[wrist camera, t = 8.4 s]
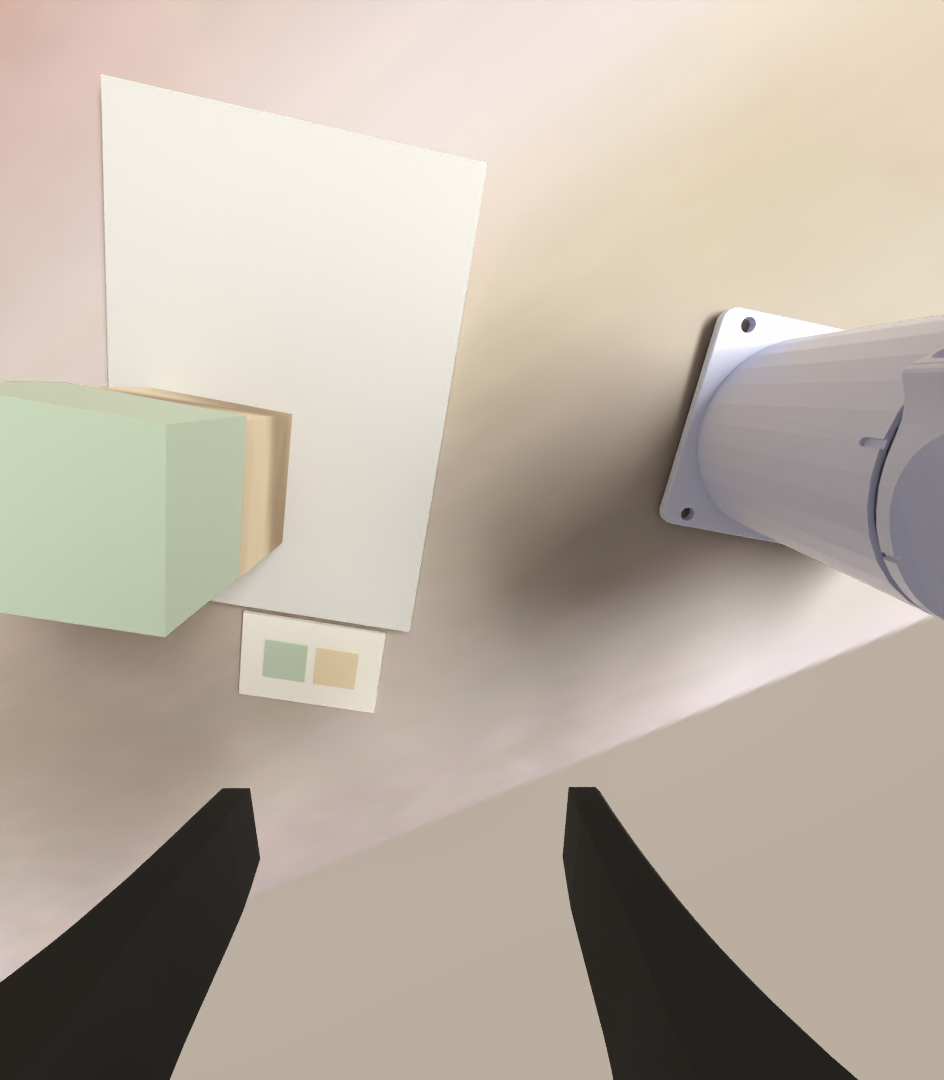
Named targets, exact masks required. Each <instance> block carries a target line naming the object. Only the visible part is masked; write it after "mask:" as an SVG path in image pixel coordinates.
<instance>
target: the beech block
mask: <svg viewBox="0 0 944 1080" xmlns="http://www.w3.org/2000/svg"><path fill="white" fill-rule="evenodd" d="M92 388H98V389H103V390H109V391H114V392H120V393H125V394H131V395H136V396H142V397H147V398H153V399H158V400H164V401H169V402H175V403H180V404H186V405H191V406H197V407H202V408H207V409H213V410H218V411H224V412H229V413H235V414H240V415H246V416H247V421H246V440H245V460H244V480H243V500H242V520H241V540H240V559H239V577H237V578H236V579H235V580H238V579H239V578H241V577H242V576H243V575H244V574H245V573H247V572H248V571H249V570H250V569H251V568H253V567H254V566H255V565H256V564H257V563H259V562H260V561H261V560H262V559H263V558H265V557H266V556H267V555H268V554H269V553H271V552H272V551H273V550H274V549H275V548H277V547H278V546H279V545H280V544H281V543H282V541H283V528H284V515H285V503H286V490H287V478H288V465H289V452H290V440H291V427H292V414H290V413H285V412H279V411H274V410H269V409H263V408H258V407H253V406H247V405H242V404H237V403H231V402H226V401H220V400H215V399H210V398H204V397H199V396H194V395H188V394H183V393H178V392H172V391H167V390H162V389H156V388H142V387H92Z"/></svg>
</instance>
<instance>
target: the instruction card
mask: <svg viewBox="0 0 944 1080" xmlns="http://www.w3.org/2000/svg"><path fill="white" fill-rule="evenodd" d="M385 638H386V632H380V631H374V630H367V629H361V628H355V627H348V626H342V625H336V624H329V623H323V622H317V621H310V620H304V619H298V618H291V617H285V616H279V615H272V614H266V613H260V612H253V611H247V610H245V611H244V612H243V628H242V645H241V662H240V680H239V694H245V695H252V696H259V697H266V698H272V699H279V700H286V701H293V702H300V703H307V704H314V705H321V706H327V707H334V708H341V709H348V710H355V711H362V712H369V713H374V710H375V704H376V697H377V691H378V684H379V677H380V671H381V664H382V657H383V651H384V644H385Z"/></svg>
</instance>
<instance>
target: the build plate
mask: <svg viewBox="0 0 944 1080" xmlns="http://www.w3.org/2000/svg"><path fill="white" fill-rule="evenodd" d="M101 101H102V142H103V182H104V223H105V263H106V304H107V345H108V385H109V387H142V388H156V389H162V390H167V391H172V392H178V393H183V394H188V395H194V396H199V397H204V398H210V399H215V400H220V401H226V402H231V403H237V404H242V405H247V406H253V407H258V408H263V409H269V410H274V411H279V412H285V413H290V414H292V427H291V440H290V452H289V465H288V478H287V490H286V503H285V515H284V528H283V541H282V543H281V544H280V545H279V546H278V547H277V548H275V549H274V550H273V551H272V552H271V553H269V554H268V555H267V556H266V557H265V558H263V559H262V560H261V561H260V562H259V563H257V564H256V565H255V566H254V567H253V568H251V569H250V570H249V571H248V572H247V573H245V574H244V575H243V576H242V577H241V578H239V579H238V580H234V581H233V582H231V583H230V584H229V585H228V586H226V587H225V588H224V589H223V590H222V591H220V592H219V593H218V594H217V595H216V596H214V597H213V598H212V599H211V600H209V601H215V602H221V603H227V604H233V605H240V606H246V607H252V608H259V609H265V610H271V611H278V612H284V613H290V614H297V615H303V616H309V617H316V618H322V619H328V620H335V621H341V622H347V623H354V624H360V625H366V626H373V627H379V628H385V629H392V630H398V631H404V632H410V628H411V622H412V616H413V610H414V604H415V598H416V592H417V586H418V580H419V574H420V568H421V562H422V556H423V550H424V544H425V538H426V532H427V526H428V520H429V514H430V508H431V502H432V496H433V490H434V484H435V478H436V472H437V466H438V460H439V454H440V448H441V442H442V436H443V430H444V424H445V418H446V412H447V406H448V400H449V394H450V388H451V382H452V376H453V370H454V364H455V358H456V352H457V346H458V340H459V333H460V327H461V321H462V315H463V309H464V303H465V297H466V291H467V285H468V279H469V273H470V267H471V261H472V255H473V249H474V243H475V237H476V231H477V225H478V219H479V213H480V207H481V201H482V195H483V189H484V183H485V177H486V171H487V163H486V162H482V161H478V160H473V159H469V158H465V157H460V156H456V155H451V154H447V153H443V152H438V151H434V150H430V149H425V148H421V147H417V146H412V145H408V144H404V143H399V142H395V141H390V140H386V139H382V138H377V137H373V136H369V135H364V134H360V133H356V132H351V131H347V130H343V129H338V128H334V127H329V126H325V125H321V124H316V123H312V122H308V121H303V120H299V119H295V118H290V117H286V116H282V115H277V114H273V113H268V112H264V111H260V110H255V109H251V108H247V107H242V106H238V105H234V104H229V103H225V102H221V101H216V100H212V99H207V98H203V97H199V96H194V95H190V94H186V93H181V92H177V91H173V90H168V89H164V88H160V87H155V86H151V85H146V84H142V83H138V82H133V81H129V80H125V79H120V78H116V77H112V76H107V75H103V74H101Z"/></svg>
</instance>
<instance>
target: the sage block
mask: <svg viewBox="0 0 944 1080" xmlns="http://www.w3.org/2000/svg"><path fill="white" fill-rule="evenodd" d="M246 421H247V416H246V415H240V414H235V413H229V412H224V411H218V410H213V409H207V408H202V407H197V406H191V405H186V404H180V403H175V402H169V401H164V400H158V399H153V398H147V397H142V396H136V395H131V394H125V393H120V392H114V391H109V390H103V389H98V388H92V387H87V386H81V385H76V384H71V383H65V382H24V381H0V613H6V614H12V615H19V616H26V617H32V618H39V619H46V620H52V621H59V622H66V623H72V624H79V625H86V626H93V627H99V628H106V629H113V630H119V631H126V632H133V633H139V634H146V635H153V636H159V637H166V636H167V635H168V634H169V633H171V632H172V631H173V630H174V629H176V628H177V627H178V626H179V625H180V624H182V623H183V622H184V621H185V620H186V619H188V618H189V617H190V616H191V615H192V614H194V613H195V612H196V611H197V610H199V609H200V608H201V607H202V606H203V605H205V604H206V603H207V602H208V601H209V600H211V599H212V598H213V597H214V596H216V595H217V594H218V593H219V592H220V591H222V590H223V589H224V588H225V587H226V586H228V585H229V584H230V583H231V582H233V581H234V580H235V579H236V578H237V577H239V559H240V540H241V520H242V500H243V480H244V460H245V440H246Z"/></svg>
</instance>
